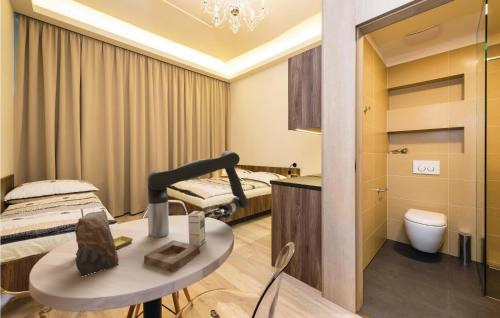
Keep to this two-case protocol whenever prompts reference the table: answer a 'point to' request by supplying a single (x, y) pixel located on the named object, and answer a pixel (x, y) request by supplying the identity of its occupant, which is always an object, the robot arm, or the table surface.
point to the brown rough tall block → (95, 244)
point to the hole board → (172, 263)
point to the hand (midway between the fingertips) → (210, 217)
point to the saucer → (122, 241)
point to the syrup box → (196, 228)
